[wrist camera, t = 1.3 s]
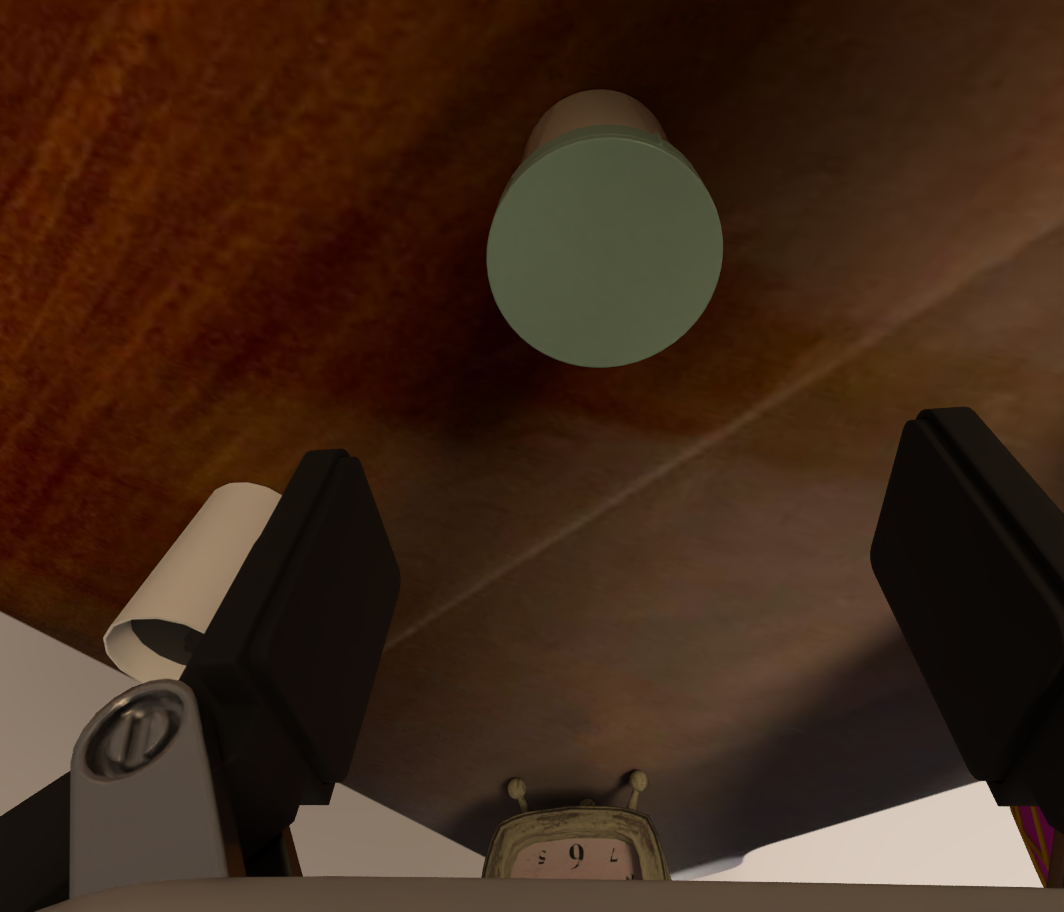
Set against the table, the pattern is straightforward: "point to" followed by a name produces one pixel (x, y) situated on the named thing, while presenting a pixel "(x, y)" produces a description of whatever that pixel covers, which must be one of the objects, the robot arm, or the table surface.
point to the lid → (604, 247)
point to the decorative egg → (1035, 837)
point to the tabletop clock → (577, 841)
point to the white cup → (189, 584)
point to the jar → (592, 116)
